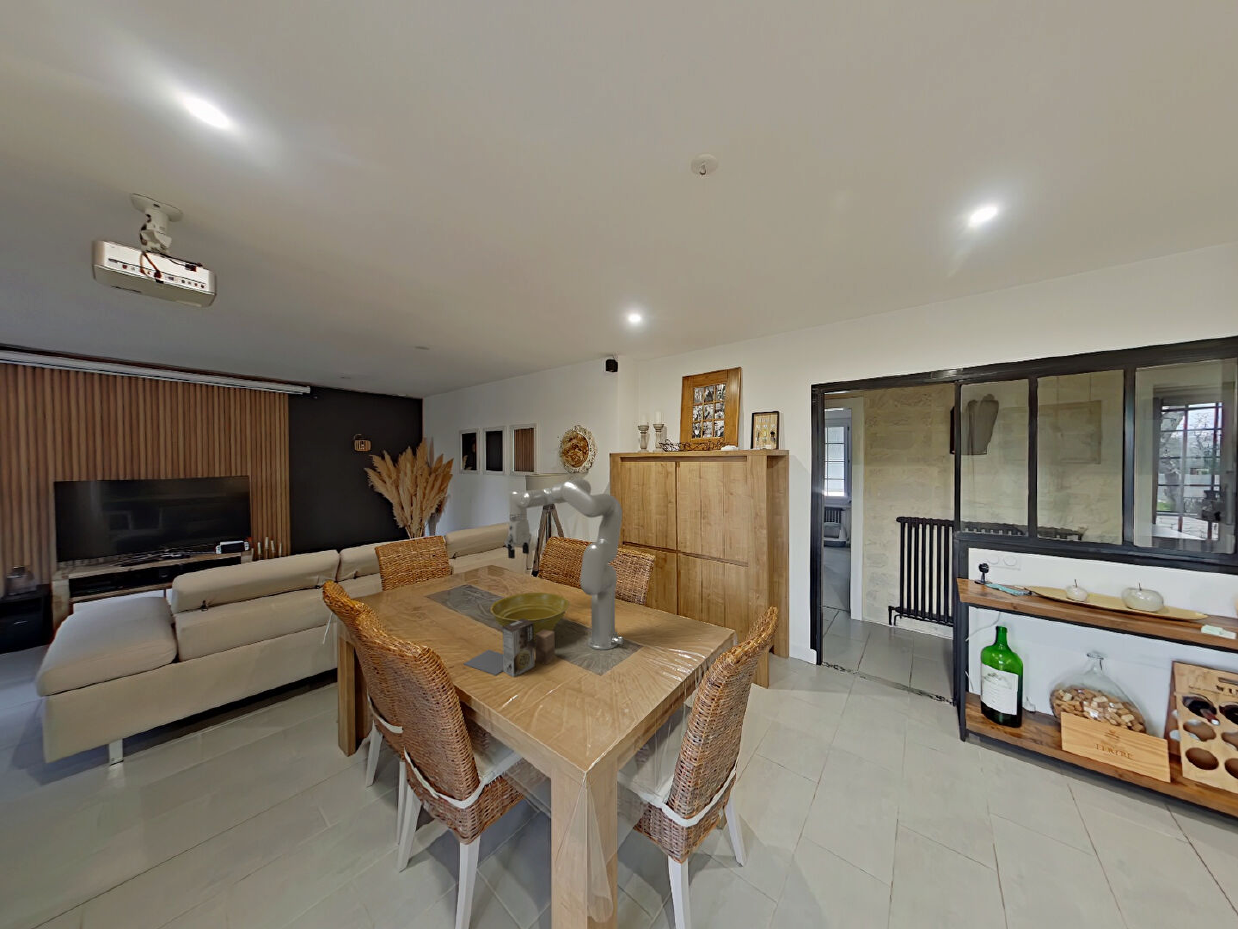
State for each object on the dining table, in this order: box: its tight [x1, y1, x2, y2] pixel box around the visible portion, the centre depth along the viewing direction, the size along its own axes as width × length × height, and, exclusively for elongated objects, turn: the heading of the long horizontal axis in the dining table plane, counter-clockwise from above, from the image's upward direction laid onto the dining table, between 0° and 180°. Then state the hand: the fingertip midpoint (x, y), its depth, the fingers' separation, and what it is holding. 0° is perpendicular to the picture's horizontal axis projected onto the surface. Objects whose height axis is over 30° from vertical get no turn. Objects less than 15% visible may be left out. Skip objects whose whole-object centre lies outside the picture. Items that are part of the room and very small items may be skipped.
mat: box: [463, 649, 504, 676], centre depth 147 cm, size 16×12×1 cm
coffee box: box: [502, 619, 536, 678], centre depth 142 cm, size 9×6×16 cm
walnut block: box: [534, 630, 556, 665], centre depth 149 cm, size 5×5×10 cm
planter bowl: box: [490, 592, 570, 644], centre depth 169 cm, size 32×32×13 cm
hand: (518, 555), depth 181 cm, fingers open, 9 cm apart
